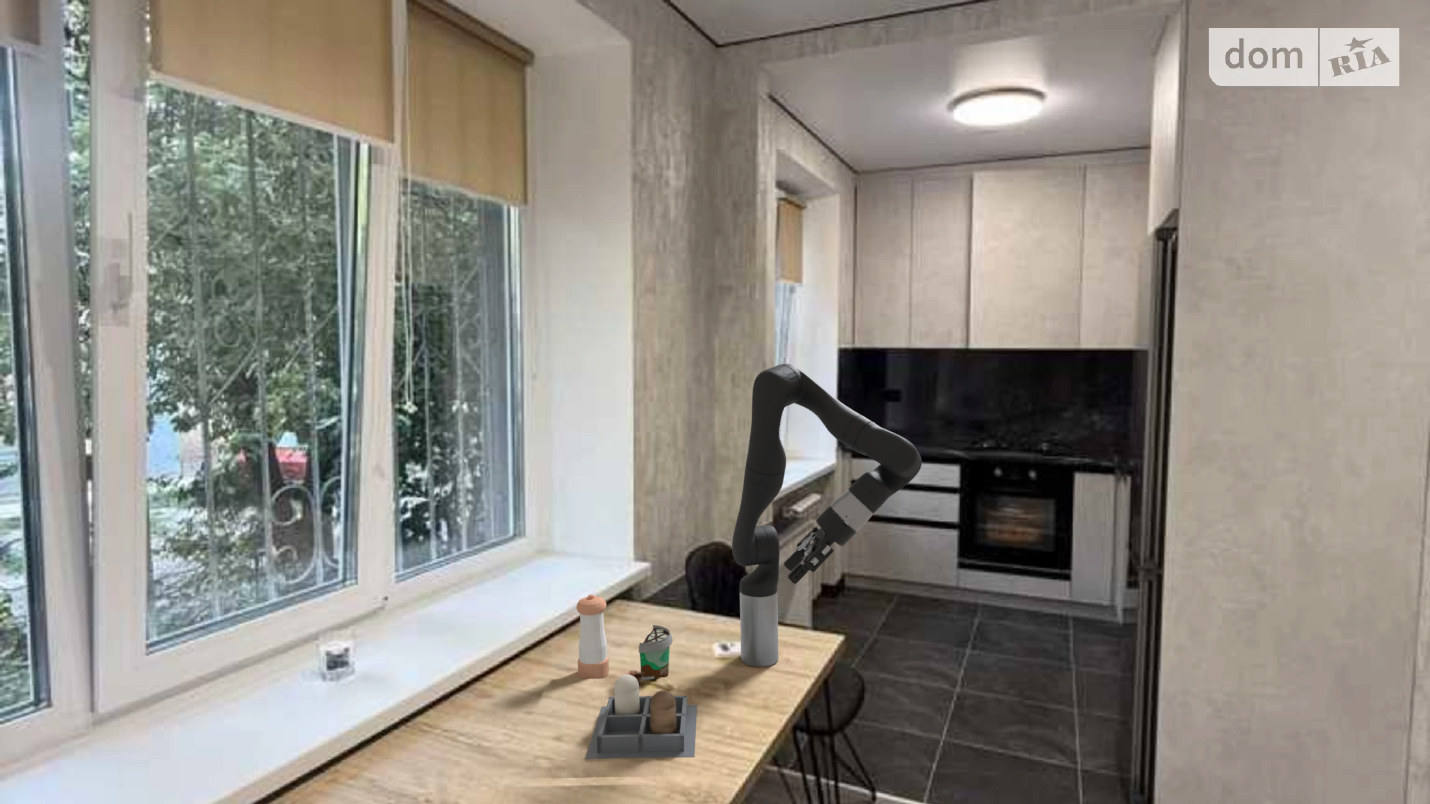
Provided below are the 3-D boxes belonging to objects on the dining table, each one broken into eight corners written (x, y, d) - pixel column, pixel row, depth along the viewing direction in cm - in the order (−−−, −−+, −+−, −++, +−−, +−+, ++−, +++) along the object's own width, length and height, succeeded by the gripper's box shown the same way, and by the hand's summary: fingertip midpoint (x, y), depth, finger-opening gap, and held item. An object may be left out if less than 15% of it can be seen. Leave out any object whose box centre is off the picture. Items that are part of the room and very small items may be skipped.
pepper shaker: (572, 677, 177) (569, 597, 175) (588, 665, 183) (586, 588, 182) (598, 681, 174) (596, 601, 172) (614, 669, 181) (612, 591, 179)
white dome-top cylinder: (617, 714, 156) (615, 670, 155) (641, 714, 156) (639, 670, 155) (613, 726, 151) (612, 681, 150) (638, 726, 151) (637, 680, 150)
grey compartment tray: (601, 710, 160) (601, 692, 159) (697, 709, 160) (696, 690, 159) (585, 763, 139) (584, 743, 139) (694, 761, 139) (694, 741, 139)
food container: (665, 688, 170) (664, 645, 169) (639, 686, 171) (638, 643, 170) (679, 665, 182) (678, 625, 181) (654, 663, 183) (653, 624, 182)
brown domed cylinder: (651, 732, 148) (650, 686, 148) (677, 732, 148) (676, 685, 148) (649, 746, 143) (648, 698, 143) (675, 745, 143) (675, 697, 143)
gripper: (826, 497, 158) (772, 552, 159) (837, 512, 144) (778, 572, 145) (851, 521, 159) (798, 575, 160) (864, 539, 145) (806, 598, 145)
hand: (788, 574), depth 152 cm, fingers open, 8 cm apart
